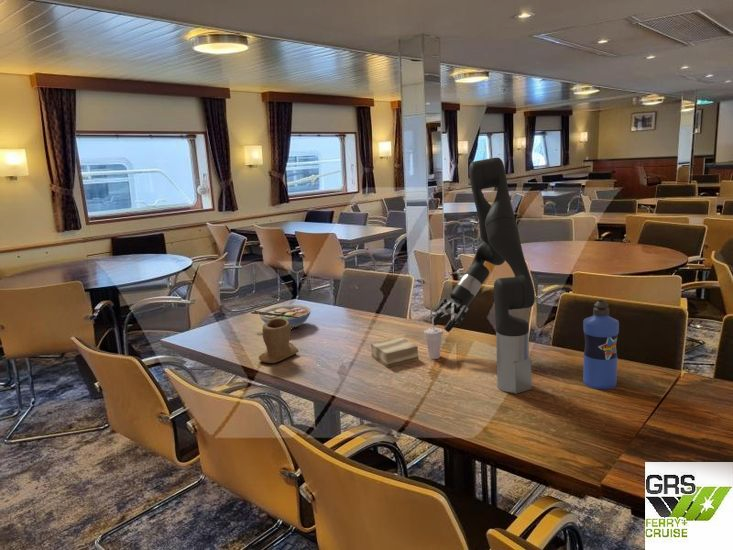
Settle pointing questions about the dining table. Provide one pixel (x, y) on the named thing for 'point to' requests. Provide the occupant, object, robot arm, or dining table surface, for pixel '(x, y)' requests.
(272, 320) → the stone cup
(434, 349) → the smoothie
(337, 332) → the dining table surface
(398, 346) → the low rectangular block
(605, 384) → the water bottle
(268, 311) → the ramen bowl
